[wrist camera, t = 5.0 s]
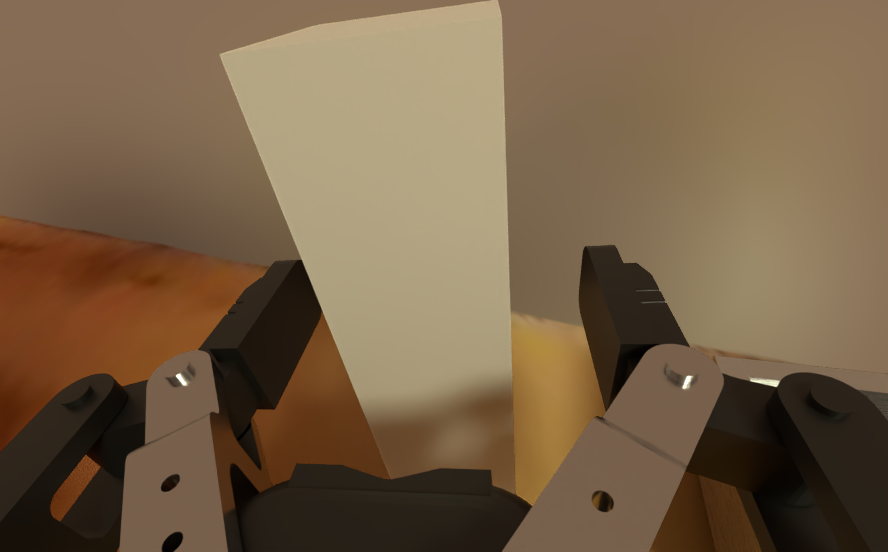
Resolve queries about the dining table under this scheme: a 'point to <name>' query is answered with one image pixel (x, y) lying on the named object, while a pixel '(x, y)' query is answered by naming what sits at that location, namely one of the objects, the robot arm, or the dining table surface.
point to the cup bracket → (722, 500)
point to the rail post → (400, 218)
